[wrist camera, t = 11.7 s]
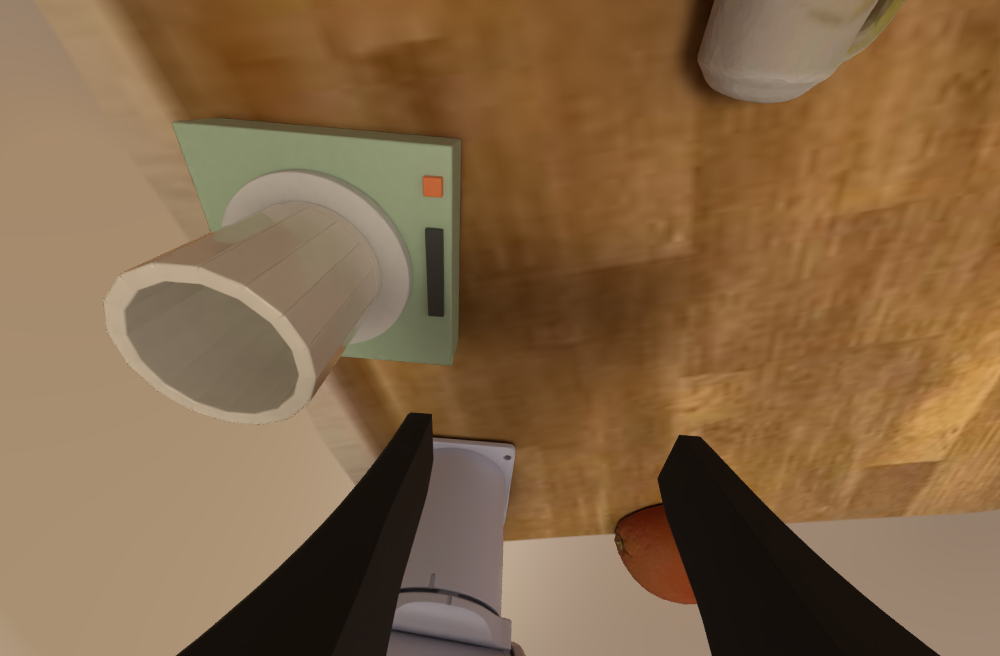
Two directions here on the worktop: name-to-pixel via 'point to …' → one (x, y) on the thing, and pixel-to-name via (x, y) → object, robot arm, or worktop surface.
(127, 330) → the white hollow cylinder
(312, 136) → the kitchen scale
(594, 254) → the worktop surface
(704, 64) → the mug
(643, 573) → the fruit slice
